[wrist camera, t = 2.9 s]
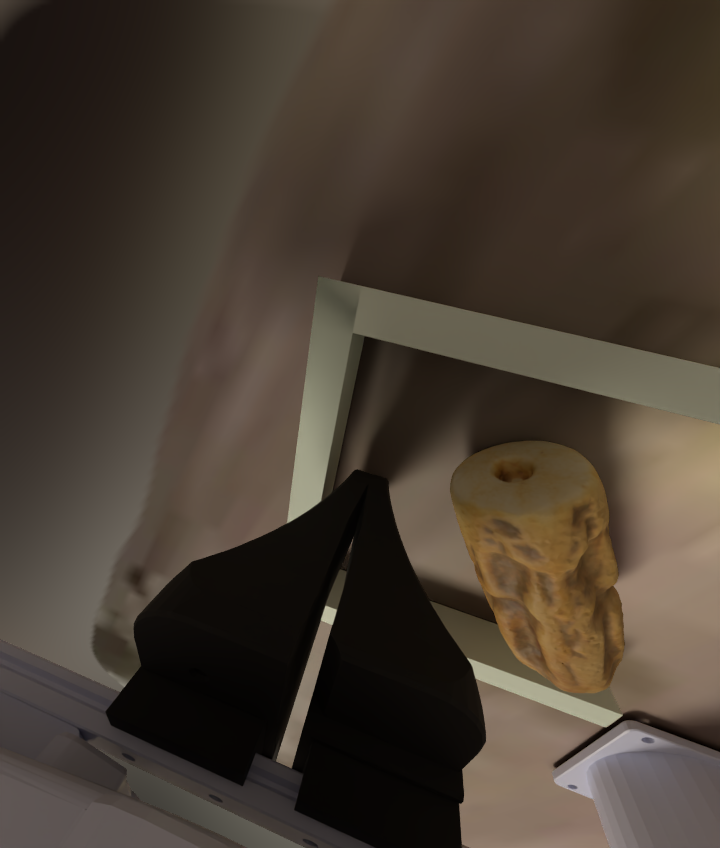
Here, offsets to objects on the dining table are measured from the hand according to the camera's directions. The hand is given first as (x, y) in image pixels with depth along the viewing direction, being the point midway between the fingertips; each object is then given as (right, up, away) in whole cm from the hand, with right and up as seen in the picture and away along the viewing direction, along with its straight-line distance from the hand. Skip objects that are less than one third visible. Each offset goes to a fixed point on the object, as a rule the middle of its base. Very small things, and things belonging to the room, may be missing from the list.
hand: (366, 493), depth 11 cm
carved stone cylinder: (+6, -1, +1) cm, 7 cm away
